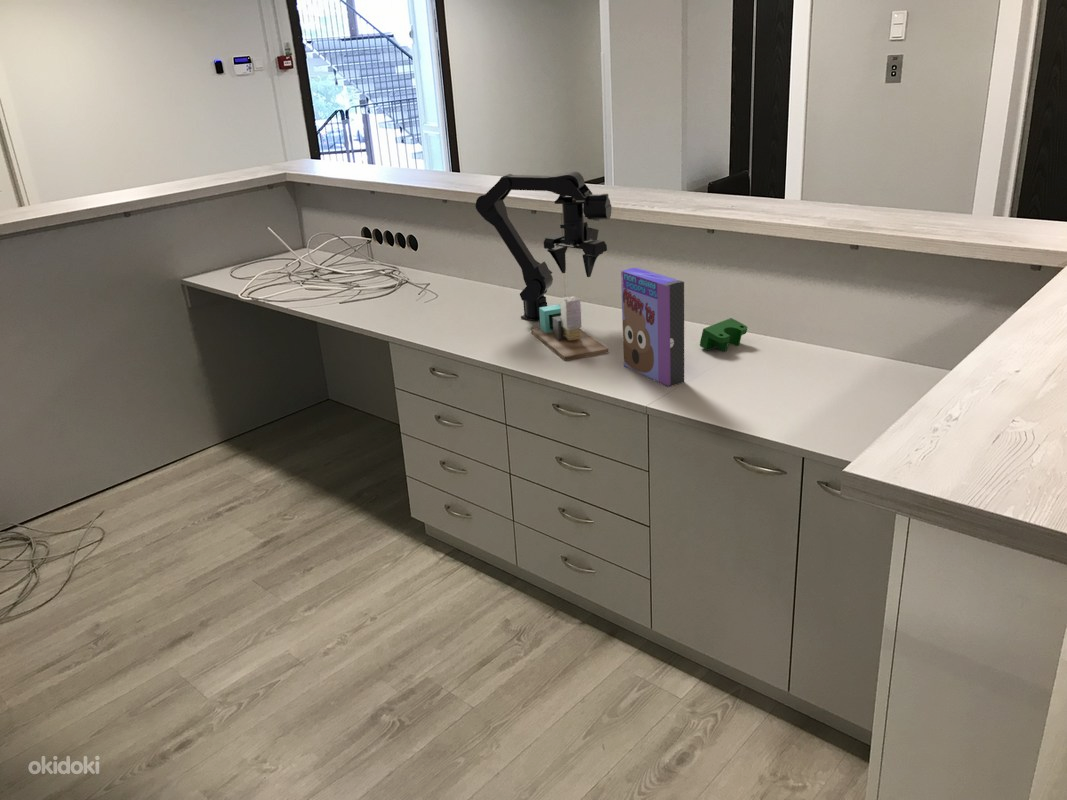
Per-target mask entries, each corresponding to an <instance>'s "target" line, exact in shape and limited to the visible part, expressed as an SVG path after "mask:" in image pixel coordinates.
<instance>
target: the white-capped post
mask: <svg viewBox="0 0 1067 800" xmlns="http://www.w3.org/2000/svg"><path fill="white" fill-rule="evenodd" d="M559 302H560V303H559V304H560V306H561V314H560V313H558V314H552V315H549V325H550V326H551V327H552V328H553V317H557V316H561V323H562V324H561V333H562V335H563V336H564V337H565V338H567V339H568V340H569V341H571V340H576V339H580V329H581V328H582V309H581V306H582V305H581V299H580V298H578V297H577V296H576V295H572V296H566V297H559Z"/></svg>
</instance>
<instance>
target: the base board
mask: <svg viewBox="0 0 1067 800" xmlns="http://www.w3.org/2000/svg"><path fill="white" fill-rule="evenodd" d="M530 333H531V334H532V335H533V336H534V337H536V338H537V339H538V340H539V341H541V342H542V344H544V345H545V346H547V347H548V349H550V350H551V351H553V352H554V353H555V354H556V355H557V356H559V357H560V358H561V359H562V360H564V361H566V362H567V361H571V360H575V359H582V358H587V357H592V356H596V355H602V354H609V352H610V350H609V348H608V347H607V346H606V345H604V344H603V343H601V342H600V341H598V340H597V339H595V338H594V337H593V336H592V335H590V334H588V333H587V332H585V331H584V330H583V329H581V328H580V339H576V340H571V341H569V340H568V339H566V340H560V341H559V340H558V339H556V338H555V337H554V333H553V332H548V333H545V332H544V331H543V330H541V329H540V327H537V328H532V329H530Z"/></svg>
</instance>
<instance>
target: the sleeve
mask: <svg viewBox="0 0 1067 800" xmlns="http://www.w3.org/2000/svg"><path fill="white" fill-rule="evenodd" d="M561 324H562V323H561V316H557V317H553V333H554V337H555V338H556V339H558V340H559V341H560V340H566V339H567V338H565V337H564V336H563V335H562V333H561Z"/></svg>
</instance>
